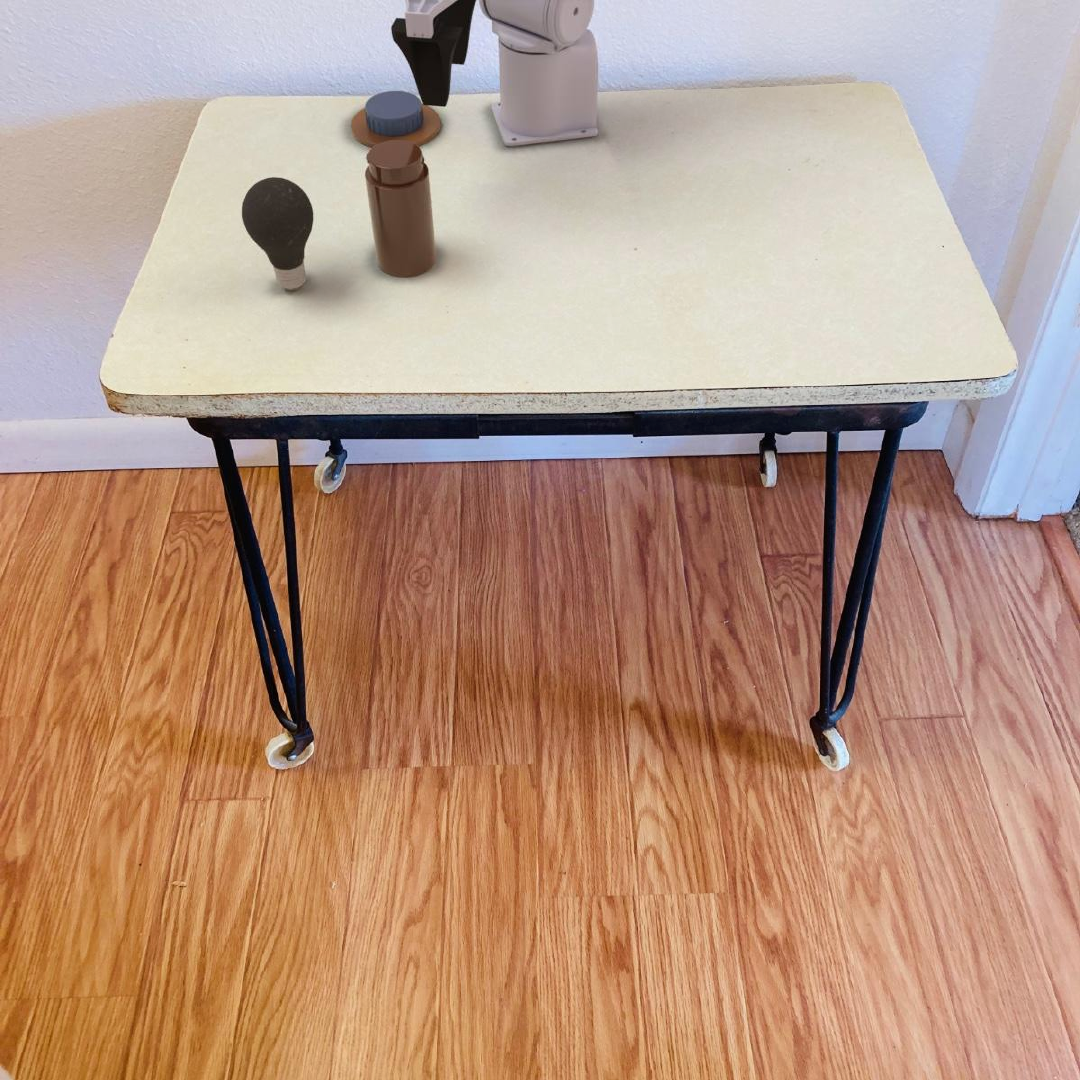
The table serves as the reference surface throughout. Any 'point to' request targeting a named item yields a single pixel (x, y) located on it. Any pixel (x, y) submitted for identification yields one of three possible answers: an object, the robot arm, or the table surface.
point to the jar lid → (394, 113)
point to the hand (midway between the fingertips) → (444, 82)
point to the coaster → (417, 137)
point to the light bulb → (280, 226)
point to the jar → (400, 208)
